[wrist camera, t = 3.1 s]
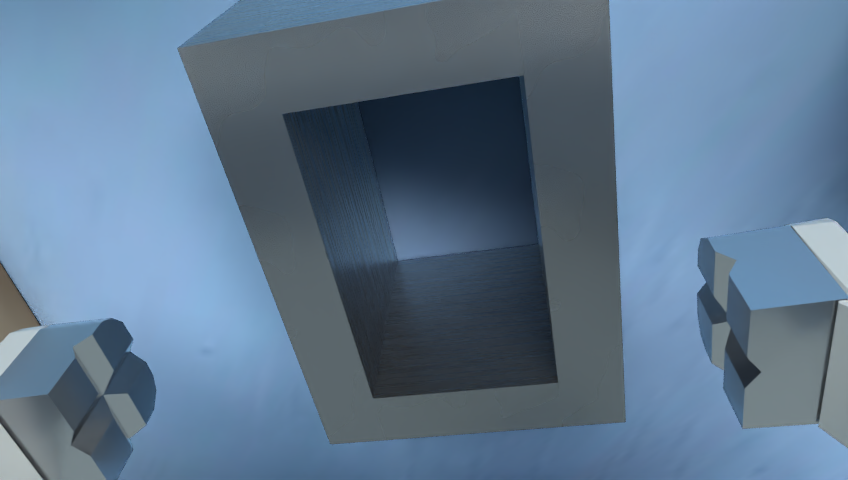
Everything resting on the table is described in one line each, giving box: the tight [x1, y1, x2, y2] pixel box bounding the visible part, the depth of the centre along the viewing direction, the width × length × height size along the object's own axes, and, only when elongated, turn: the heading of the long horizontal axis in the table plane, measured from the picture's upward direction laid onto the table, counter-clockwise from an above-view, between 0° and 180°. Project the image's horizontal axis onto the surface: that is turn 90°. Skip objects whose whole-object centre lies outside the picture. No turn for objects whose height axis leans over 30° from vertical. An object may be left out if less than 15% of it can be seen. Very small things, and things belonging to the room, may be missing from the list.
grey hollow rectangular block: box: [177, 0, 626, 444], centre depth 11 cm, size 7×5×4 cm
